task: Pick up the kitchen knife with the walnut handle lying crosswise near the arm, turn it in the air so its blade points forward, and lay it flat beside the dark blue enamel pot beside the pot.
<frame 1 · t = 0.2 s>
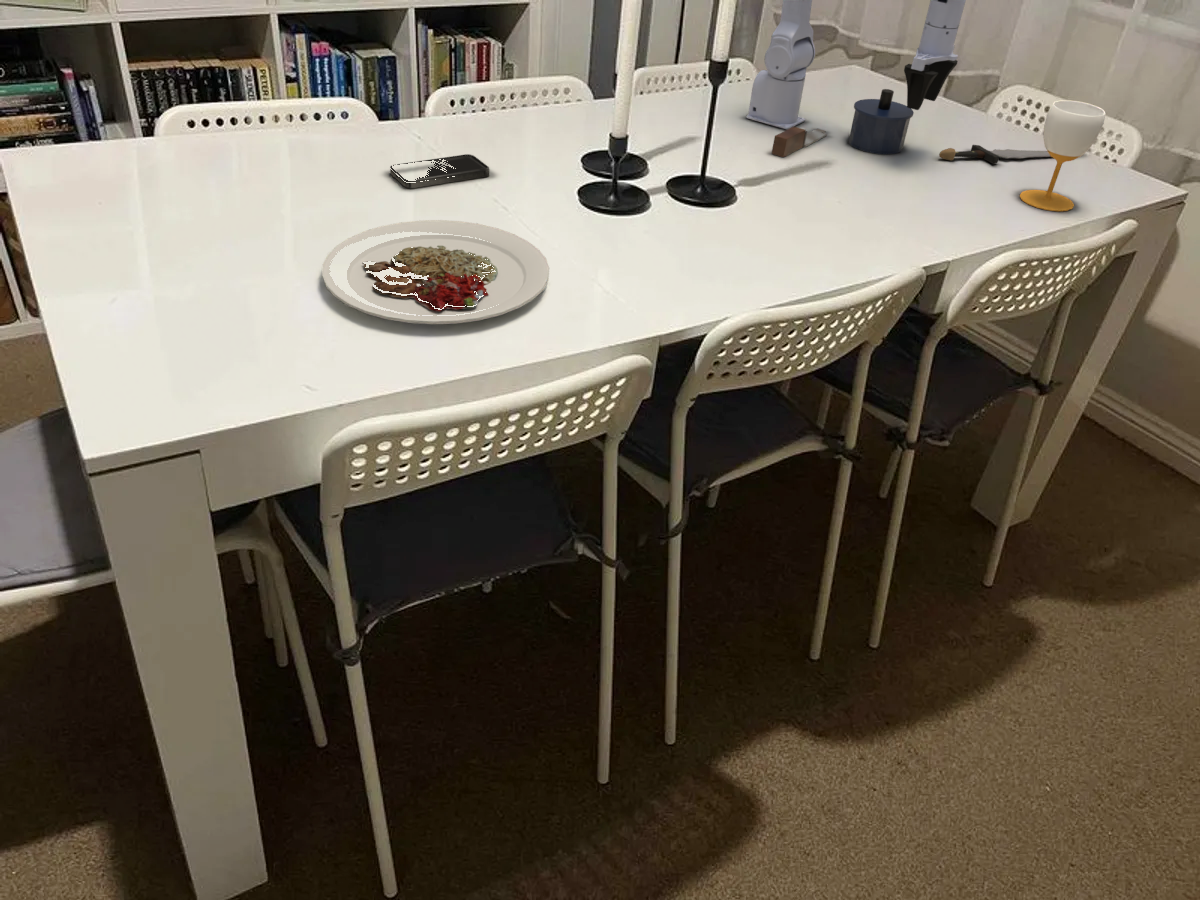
hand: (921, 104, 179), 10 cm above the table, tool pointing down, fingers open, 7 cm apart
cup: (1045, 202, 172), on the table
pot: (875, 144, 189), on the table
knife: (799, 144, 187), on the table
phone: (440, 174, 163), on the table
pot lid: (883, 110, 186), point 6 cm above the table, touching pot
dagger: (1011, 158, 189), on the table
plated food: (438, 280, 133), on the table
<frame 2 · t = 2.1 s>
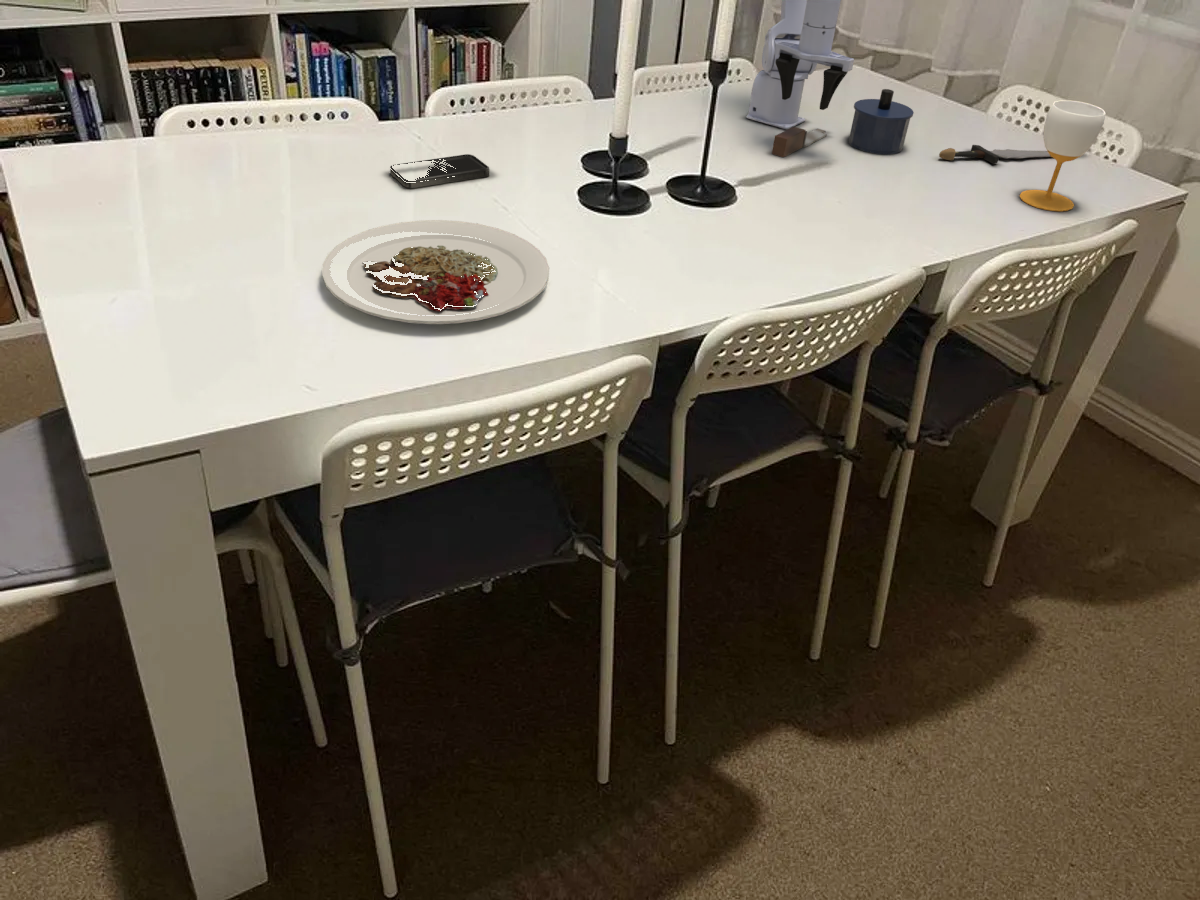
hand: (804, 103, 180), 8 cm above the table, tool pointing down, fingers open, 7 cm apart
nothing on the table moved.
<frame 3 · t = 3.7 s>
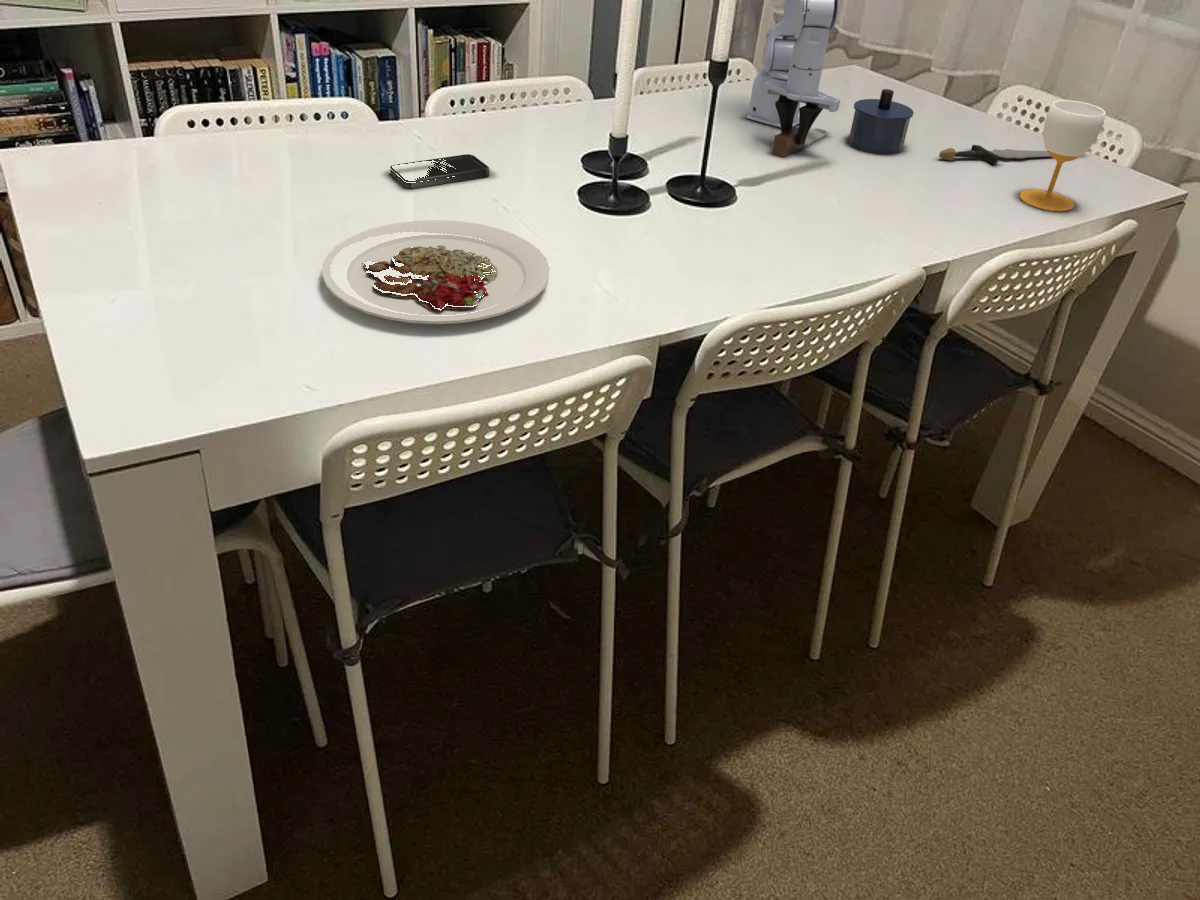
hand: (792, 141, 184), 1 cm above the table, tool pointing down, fingers closed on knife, 2 cm apart
knife: (799, 144, 187), on the table, touching gripper
everything else where it was.
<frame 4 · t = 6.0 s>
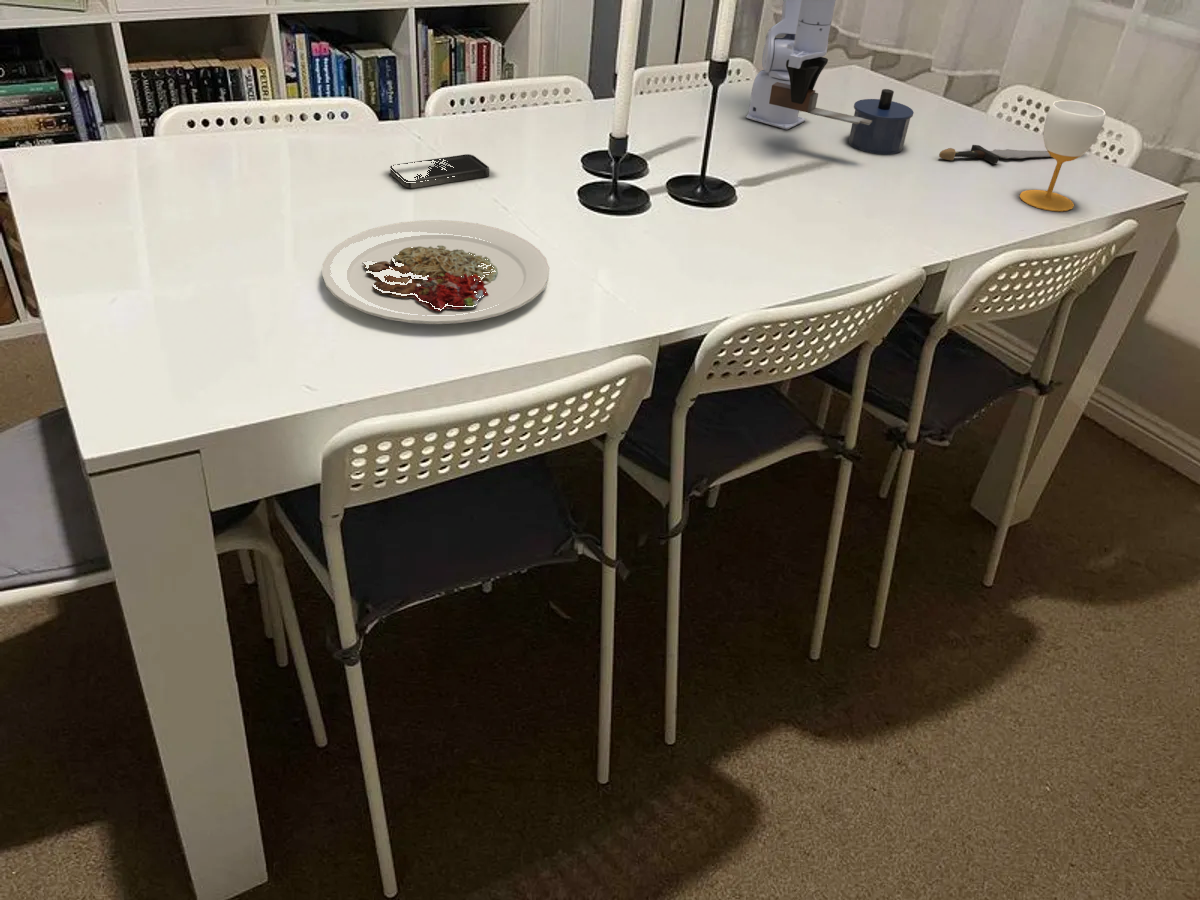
hand: (800, 100, 179), 9 cm above the table, tool pointing down, fingers closed on knife, 2 cm apart
knife: (816, 112, 179), point 7 cm above the table, touching gripper
everything else where it was.
when the fingers open (1 cm above the table, at t = 8.4 s): knife stays where it is, on the table.
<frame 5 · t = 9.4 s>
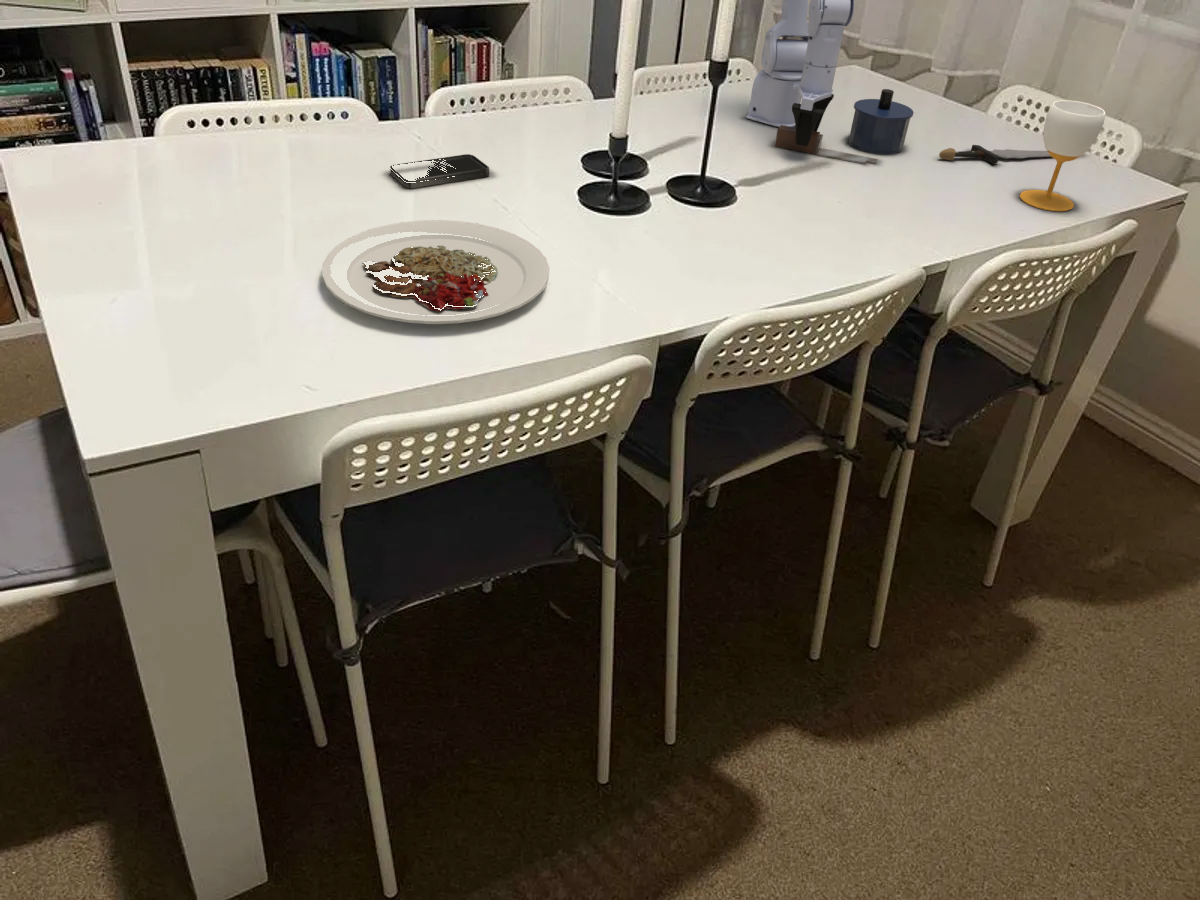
hand: (806, 138, 183), 2 cm above the table, tool pointing down, fingers open, 7 cm apart
knife: (822, 153, 184), on the table
everything else where it was.
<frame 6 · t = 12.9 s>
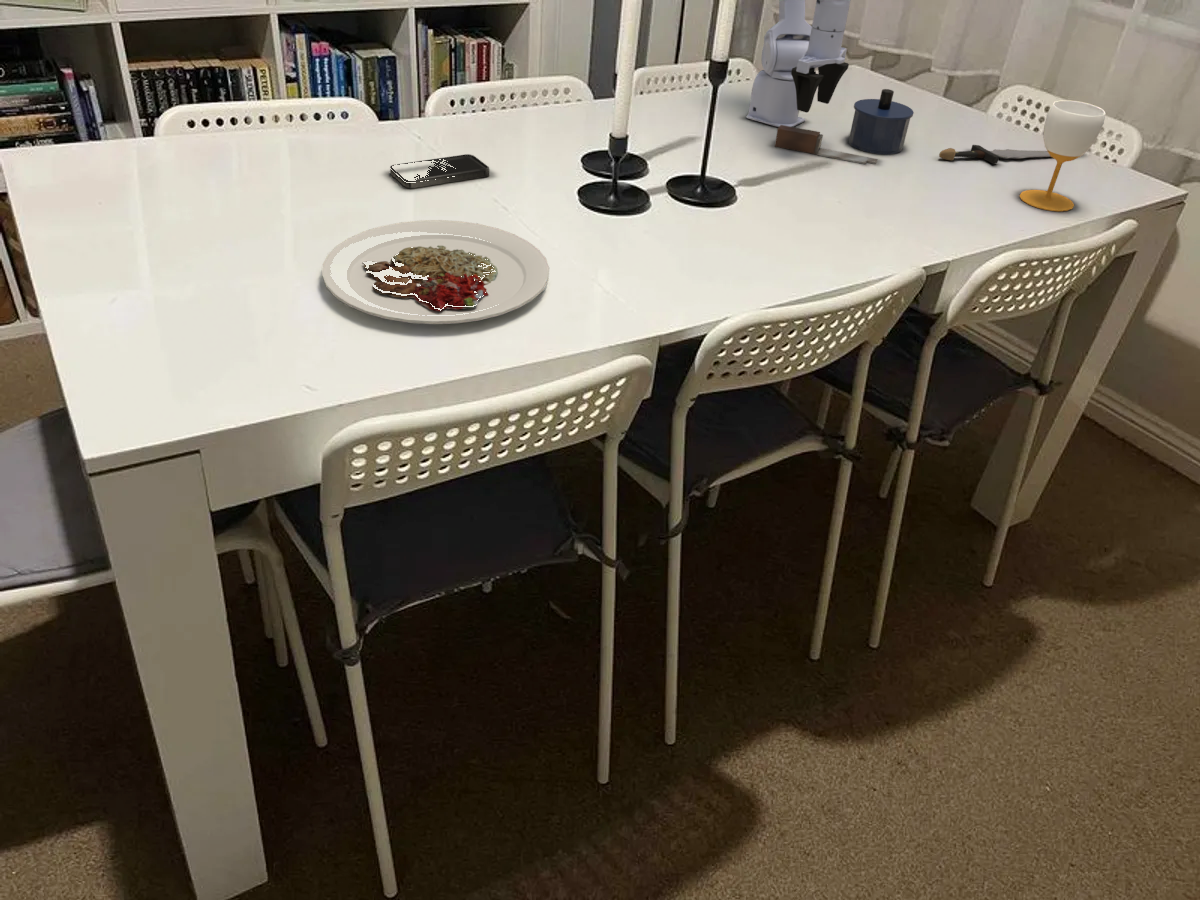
hand: (813, 106, 180), 8 cm above the table, tool pointing down, fingers open, 7 cm apart
nothing on the table moved.
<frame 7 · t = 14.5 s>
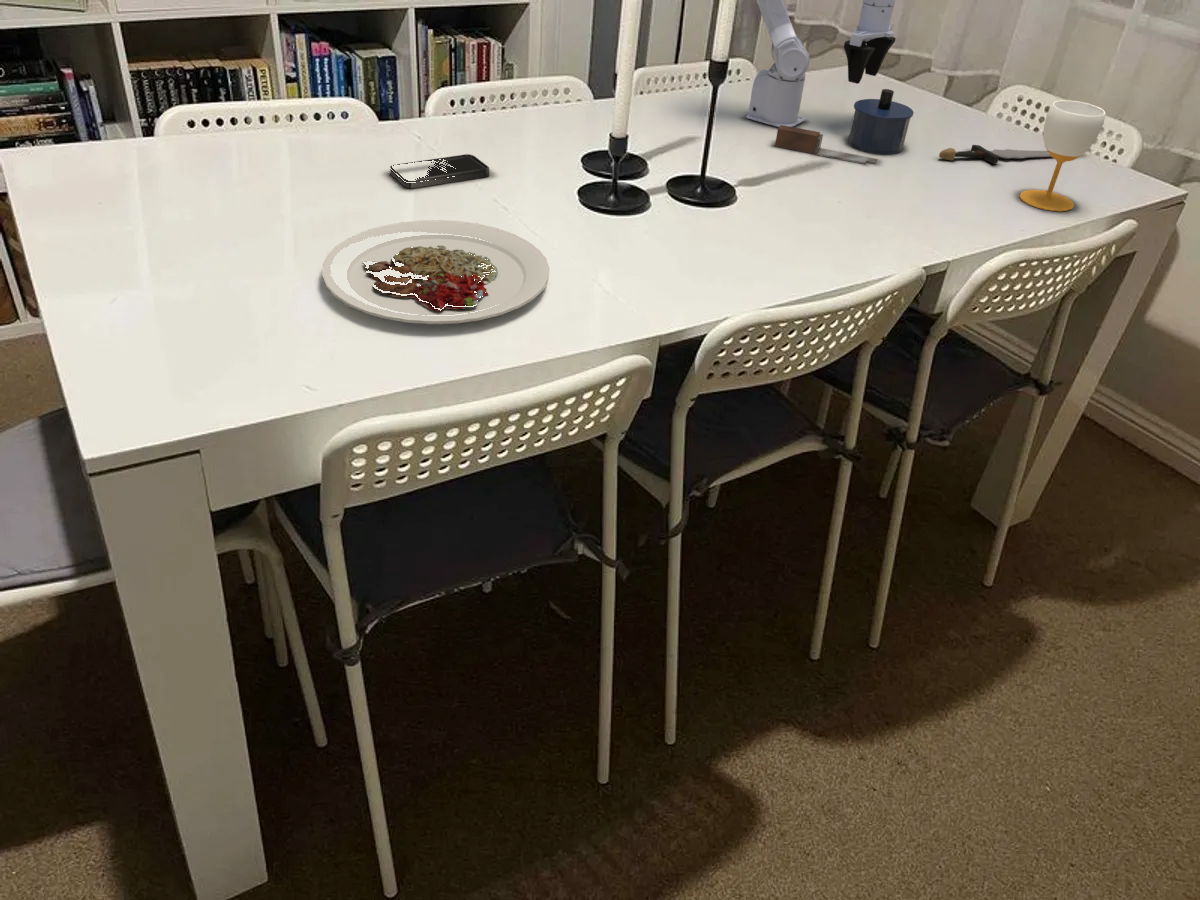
hand: (862, 78, 192), 9 cm above the table, tool pointing down, fingers open, 7 cm apart
nothing on the table moved.
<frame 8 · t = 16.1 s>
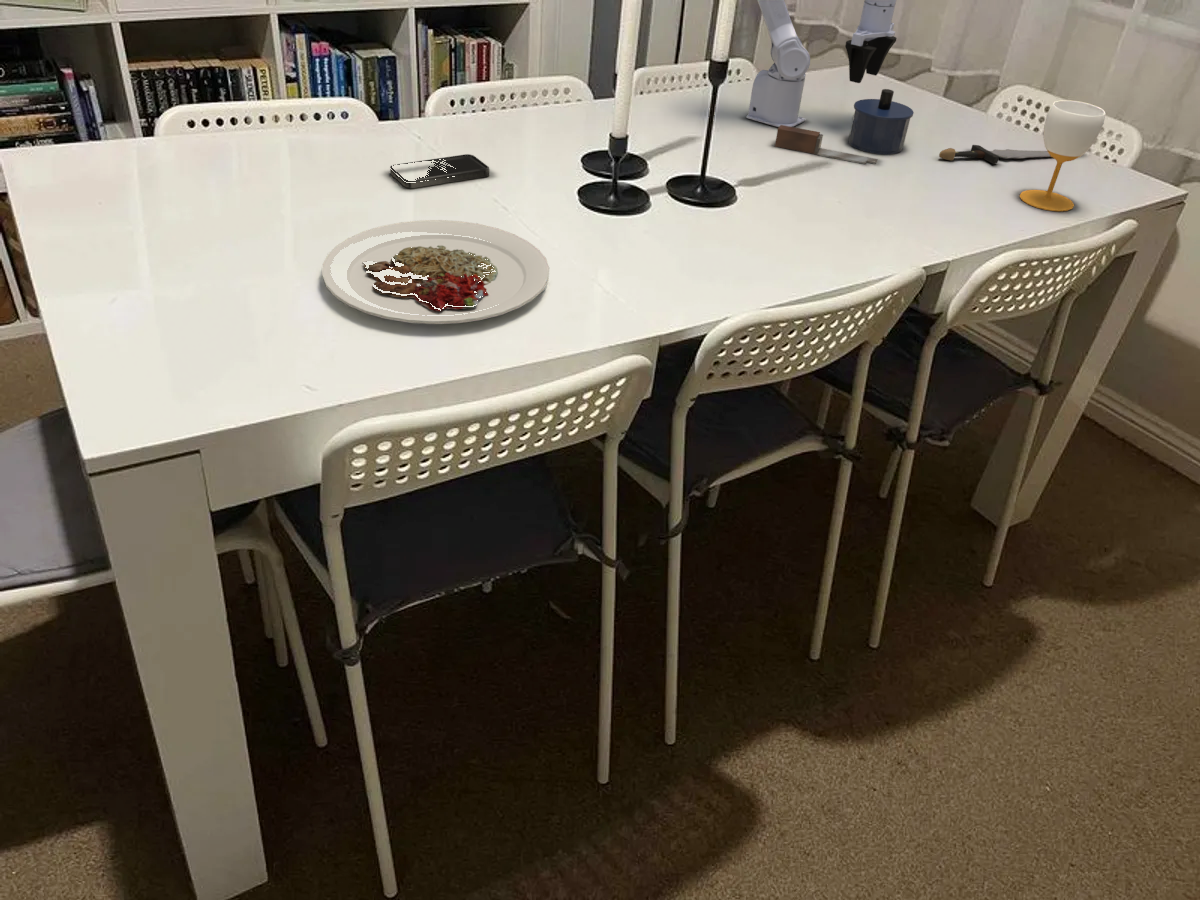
hand: (863, 78, 192), 9 cm above the table, tool pointing down, fingers open, 7 cm apart
nothing on the table moved.
at the end: knife inside the target area on the table beside the pot (0.2 cm from its centre), on the table; knife tilted 0°; the gripper is holding nothing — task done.
